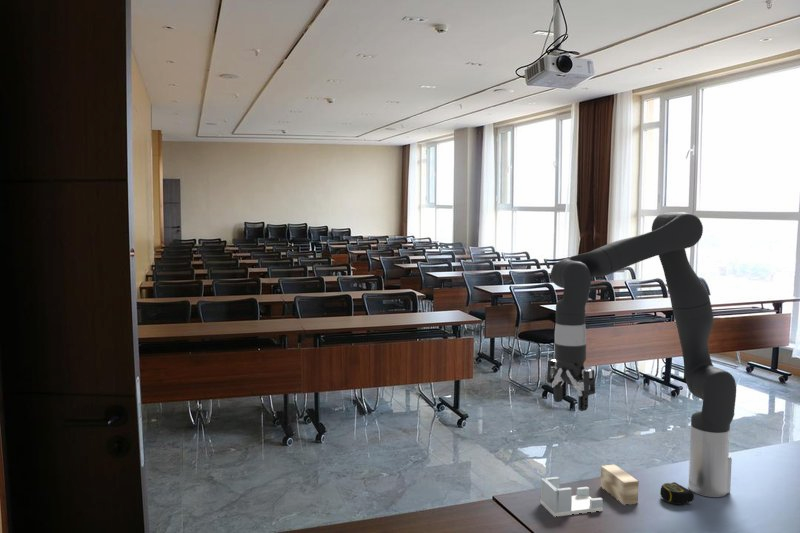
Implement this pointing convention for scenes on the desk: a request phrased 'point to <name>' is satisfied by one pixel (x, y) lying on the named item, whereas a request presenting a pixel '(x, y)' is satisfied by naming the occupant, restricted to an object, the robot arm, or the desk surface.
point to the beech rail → (619, 484)
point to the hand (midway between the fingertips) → (570, 405)
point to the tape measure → (676, 493)
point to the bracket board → (567, 499)
